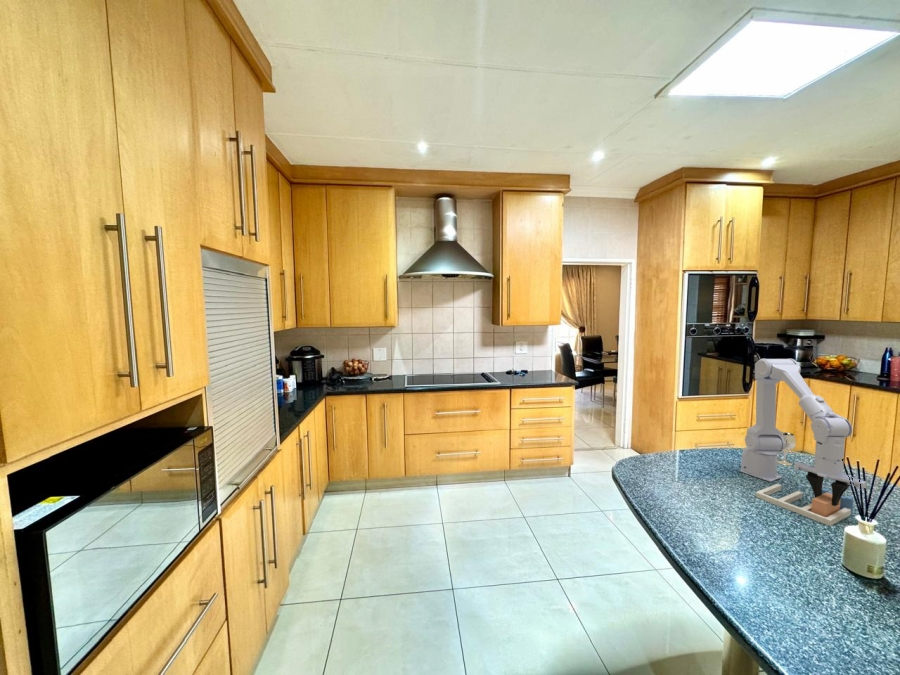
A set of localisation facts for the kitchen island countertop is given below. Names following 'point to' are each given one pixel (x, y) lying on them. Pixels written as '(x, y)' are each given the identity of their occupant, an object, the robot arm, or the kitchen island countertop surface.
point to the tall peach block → (824, 505)
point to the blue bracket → (843, 501)
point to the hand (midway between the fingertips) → (826, 501)
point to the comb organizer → (802, 511)
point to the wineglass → (787, 446)
